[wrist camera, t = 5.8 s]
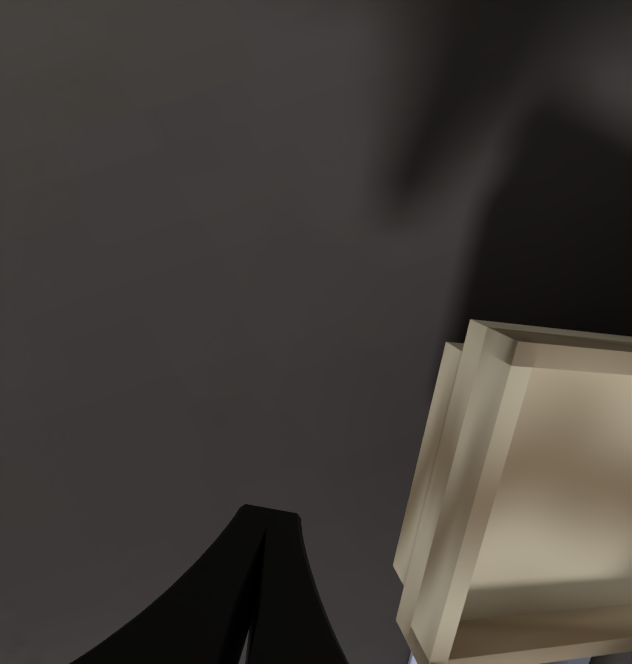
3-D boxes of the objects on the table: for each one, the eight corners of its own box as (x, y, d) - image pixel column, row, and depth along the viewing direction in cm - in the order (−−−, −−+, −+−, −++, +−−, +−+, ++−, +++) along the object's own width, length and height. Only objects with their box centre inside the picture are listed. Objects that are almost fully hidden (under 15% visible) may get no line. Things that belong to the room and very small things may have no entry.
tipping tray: (609, 573, 19) (686, 643, 16) (381, 590, 16) (424, 679, 13) (776, 125, 15) (920, 109, 12) (509, 44, 12) (612, -3, 9)
